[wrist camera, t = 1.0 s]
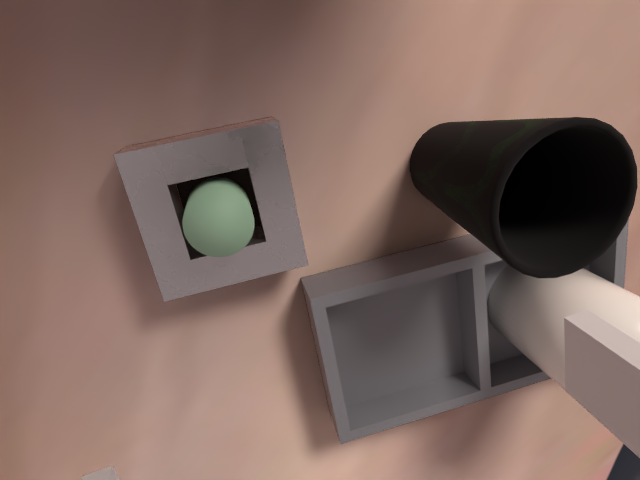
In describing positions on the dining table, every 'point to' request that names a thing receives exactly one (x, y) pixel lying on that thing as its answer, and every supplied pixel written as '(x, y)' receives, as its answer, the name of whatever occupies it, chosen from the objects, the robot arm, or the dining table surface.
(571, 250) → the cup
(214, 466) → the dining table surface
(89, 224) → the dining table surface
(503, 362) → the grey divided tray
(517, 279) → the billet
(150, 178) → the grey square socket block
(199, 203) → the button
